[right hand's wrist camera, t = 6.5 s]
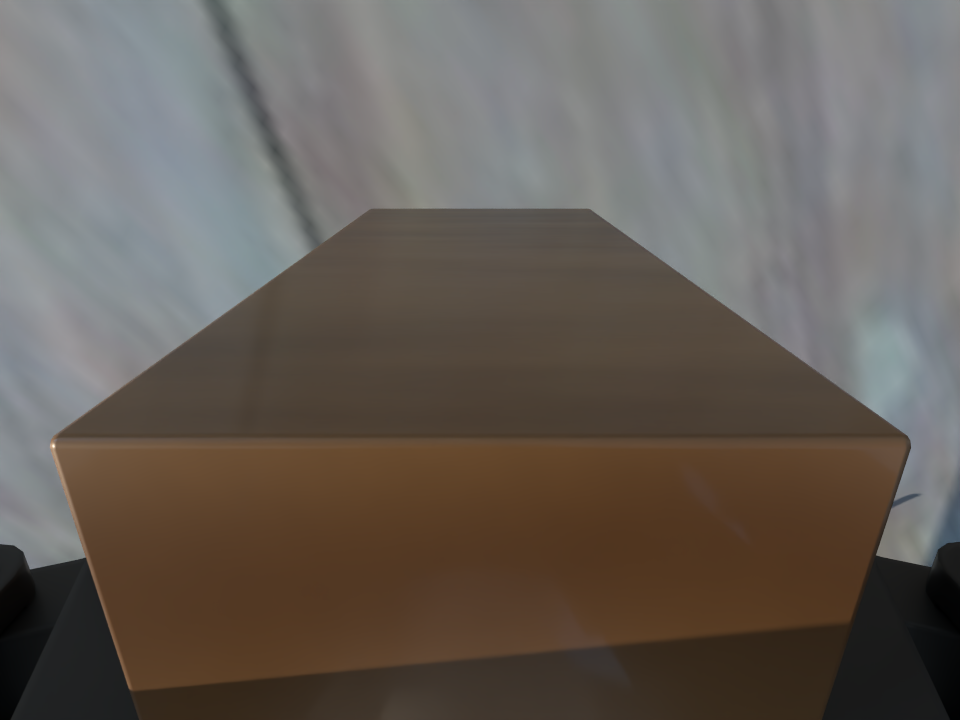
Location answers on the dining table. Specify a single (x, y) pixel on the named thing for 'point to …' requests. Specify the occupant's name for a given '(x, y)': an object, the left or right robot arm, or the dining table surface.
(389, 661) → the box
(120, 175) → the dining table surface
